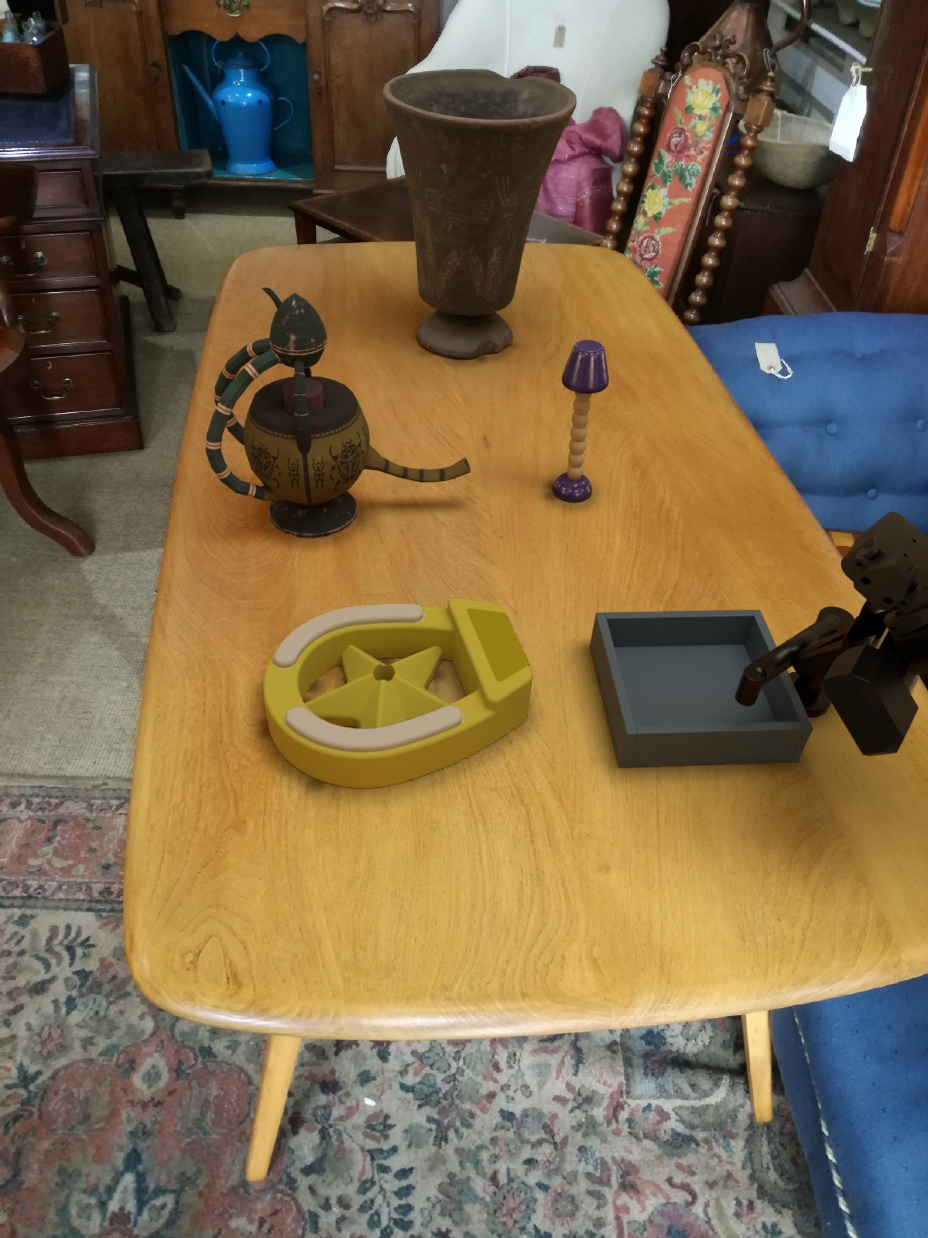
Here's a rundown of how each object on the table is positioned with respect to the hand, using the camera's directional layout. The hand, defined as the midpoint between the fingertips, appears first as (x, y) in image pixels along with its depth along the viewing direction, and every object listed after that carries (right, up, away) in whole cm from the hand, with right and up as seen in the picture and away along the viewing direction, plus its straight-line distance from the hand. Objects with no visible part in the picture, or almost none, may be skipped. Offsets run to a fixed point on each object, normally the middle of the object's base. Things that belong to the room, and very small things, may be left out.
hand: (795, 665), depth 70 cm
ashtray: (-31, -4, +7) cm, 32 cm away
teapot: (-37, +15, +26) cm, 48 cm away
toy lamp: (-13, +17, +31) cm, 38 cm away
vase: (-24, +41, +56) cm, 73 cm away
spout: (+1, 0, +3) cm, 3 cm away
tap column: (+4, -3, +9) cm, 11 cm away
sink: (-6, -3, +9) cm, 11 cm away
